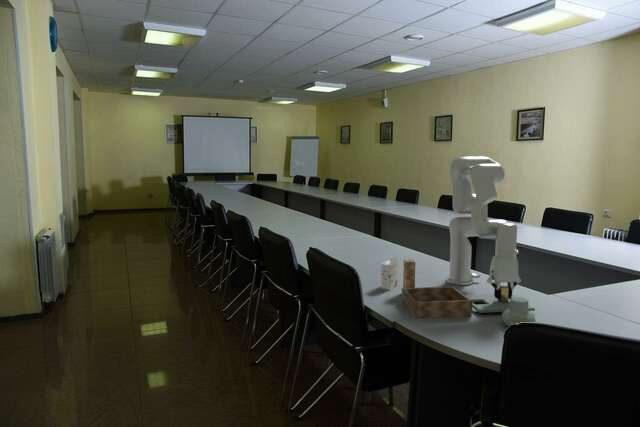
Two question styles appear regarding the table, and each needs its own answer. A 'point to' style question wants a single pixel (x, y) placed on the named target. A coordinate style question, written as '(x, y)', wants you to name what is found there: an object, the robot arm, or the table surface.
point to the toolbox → (436, 302)
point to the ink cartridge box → (389, 273)
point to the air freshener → (517, 312)
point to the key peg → (409, 274)
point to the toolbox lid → (494, 301)
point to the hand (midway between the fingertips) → (502, 297)
